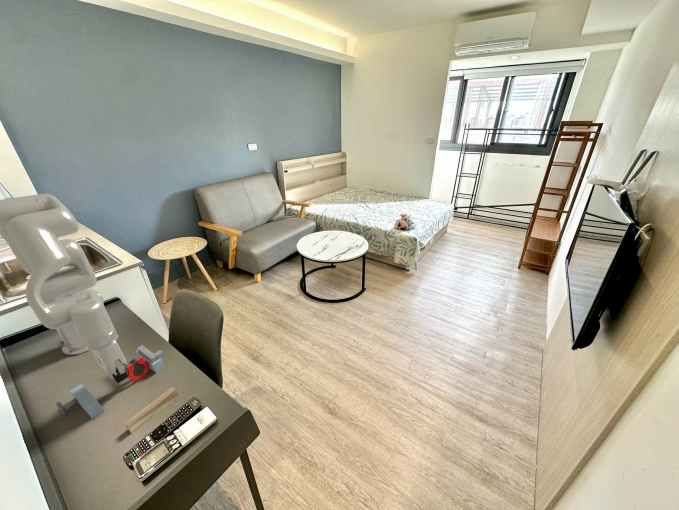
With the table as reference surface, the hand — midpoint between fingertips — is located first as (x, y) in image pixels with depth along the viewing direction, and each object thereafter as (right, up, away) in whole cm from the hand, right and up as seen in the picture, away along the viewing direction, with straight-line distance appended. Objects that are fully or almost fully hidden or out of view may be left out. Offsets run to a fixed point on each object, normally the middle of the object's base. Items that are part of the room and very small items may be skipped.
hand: (122, 379), depth 91 cm
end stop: (+15, -7, -6) cm, 18 cm away
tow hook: (-1, -2, +7) cm, 7 cm away
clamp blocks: (-3, -3, +2) cm, 4 cm away
